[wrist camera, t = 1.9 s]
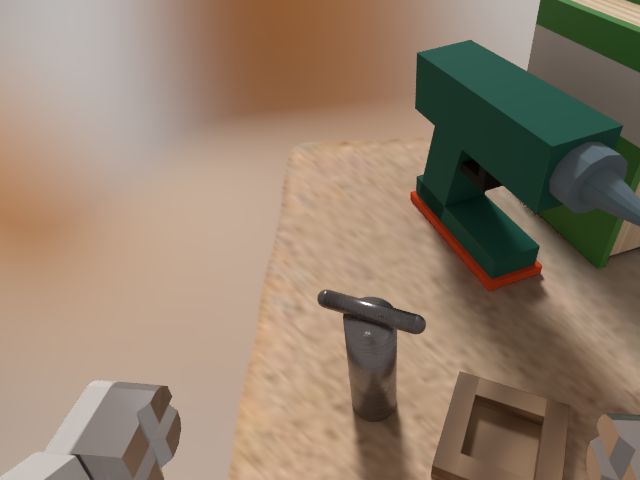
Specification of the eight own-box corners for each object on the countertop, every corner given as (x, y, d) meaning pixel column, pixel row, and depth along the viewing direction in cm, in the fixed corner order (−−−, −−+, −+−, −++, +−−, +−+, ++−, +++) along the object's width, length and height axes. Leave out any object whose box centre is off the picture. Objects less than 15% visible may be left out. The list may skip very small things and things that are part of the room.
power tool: (642, 368, 44) (749, 190, 31) (577, 395, 43) (659, 221, 30) (456, 184, 67) (472, 37, 54) (410, 198, 66) (414, 51, 53)
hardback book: (655, 250, 55) (762, 30, 39) (598, 268, 54) (684, 50, 38) (553, 170, 68) (603, -20, 52) (506, 183, 67) (541, -7, 51)
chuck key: (425, 398, 44) (433, 300, 35) (412, 437, 42) (417, 342, 33) (340, 368, 47) (328, 272, 38) (323, 404, 45) (305, 309, 36)
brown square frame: (564, 417, 42) (569, 405, 40) (552, 525, 36) (558, 514, 34) (457, 383, 45) (459, 371, 44) (431, 476, 39) (432, 465, 38)
